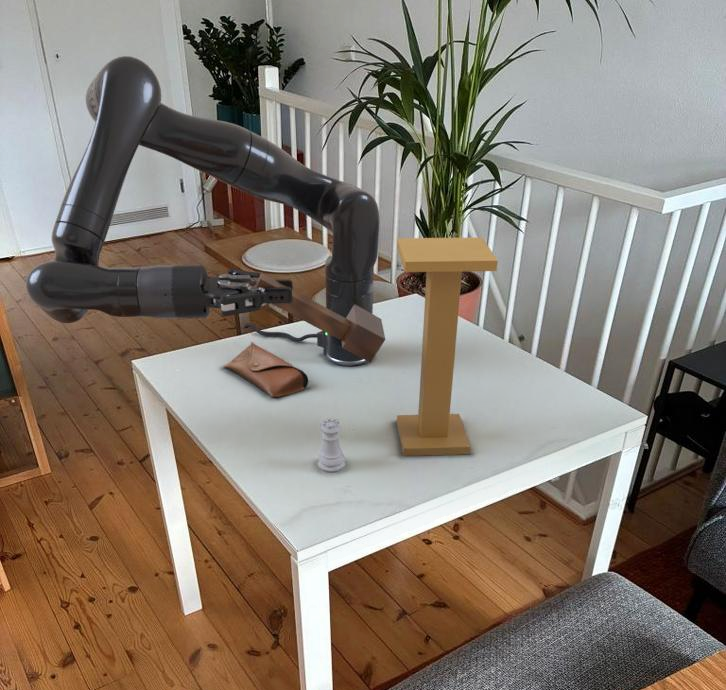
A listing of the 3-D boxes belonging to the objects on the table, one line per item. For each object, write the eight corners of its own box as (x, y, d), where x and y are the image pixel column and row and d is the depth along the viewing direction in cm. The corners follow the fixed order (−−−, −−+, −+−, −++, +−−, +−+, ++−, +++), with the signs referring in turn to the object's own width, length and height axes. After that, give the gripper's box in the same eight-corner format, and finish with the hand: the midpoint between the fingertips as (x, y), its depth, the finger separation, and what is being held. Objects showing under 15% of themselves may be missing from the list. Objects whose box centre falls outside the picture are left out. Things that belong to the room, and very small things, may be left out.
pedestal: (464, 420, 130) (482, 237, 111) (475, 454, 121) (497, 260, 102) (390, 422, 129) (397, 238, 111) (397, 456, 120) (405, 261, 102)
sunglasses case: (219, 366, 146) (231, 334, 144) (246, 373, 151) (258, 343, 150) (273, 398, 135) (286, 364, 133) (300, 405, 140) (313, 373, 139)
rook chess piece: (317, 458, 119) (315, 415, 115) (344, 457, 119) (344, 414, 115) (318, 473, 115) (316, 430, 111) (346, 472, 116) (346, 428, 111)
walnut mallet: (367, 341, 118) (381, 318, 116) (370, 363, 112) (385, 339, 110) (254, 281, 112) (267, 256, 110) (251, 300, 105) (265, 274, 103)
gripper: (162, 283, 100) (290, 282, 101) (177, 251, 111) (292, 251, 112) (170, 335, 104) (292, 333, 105) (184, 299, 116) (294, 298, 117)
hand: (291, 291), depth 109 cm, fingers closed on walnut mallet, 2 cm apart
